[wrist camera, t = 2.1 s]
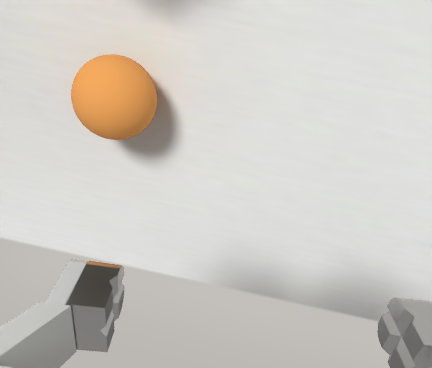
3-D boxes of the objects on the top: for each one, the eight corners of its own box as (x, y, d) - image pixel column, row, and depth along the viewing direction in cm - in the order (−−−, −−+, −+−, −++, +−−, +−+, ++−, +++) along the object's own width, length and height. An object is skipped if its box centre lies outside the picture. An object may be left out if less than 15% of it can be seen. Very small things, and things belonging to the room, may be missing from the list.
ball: (167, 55, 25) (150, 74, 20) (160, 128, 27) (144, 159, 23) (88, 40, 24) (52, 56, 20) (89, 115, 27) (59, 145, 22)
